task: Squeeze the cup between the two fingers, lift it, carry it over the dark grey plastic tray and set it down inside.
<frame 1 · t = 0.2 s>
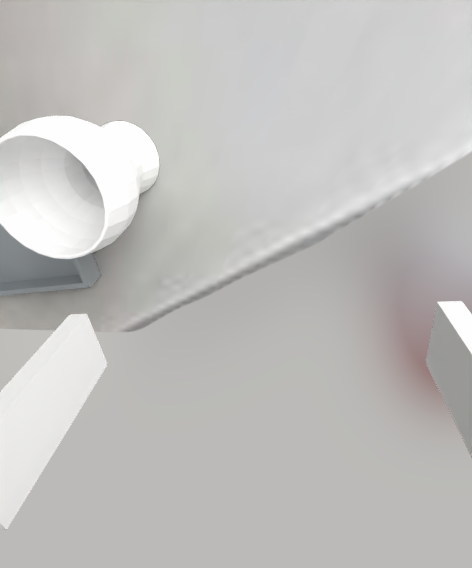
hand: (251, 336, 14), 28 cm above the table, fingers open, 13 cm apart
tray: (24, 228, 44), on the table
cup: (126, 159, 39), on the table
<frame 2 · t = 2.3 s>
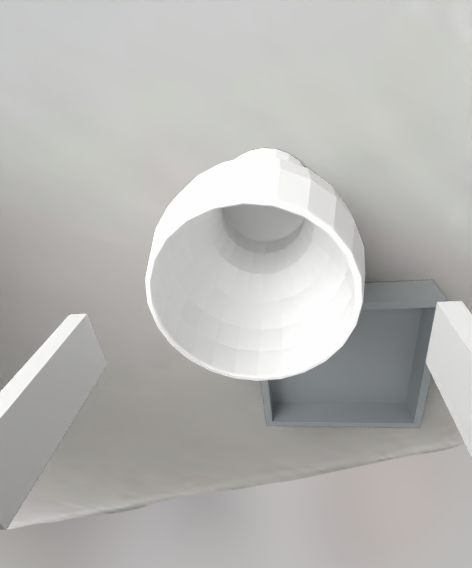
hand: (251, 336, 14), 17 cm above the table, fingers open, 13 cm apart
tray: (338, 350, 35), on the table
cup: (265, 198, 28), on the table
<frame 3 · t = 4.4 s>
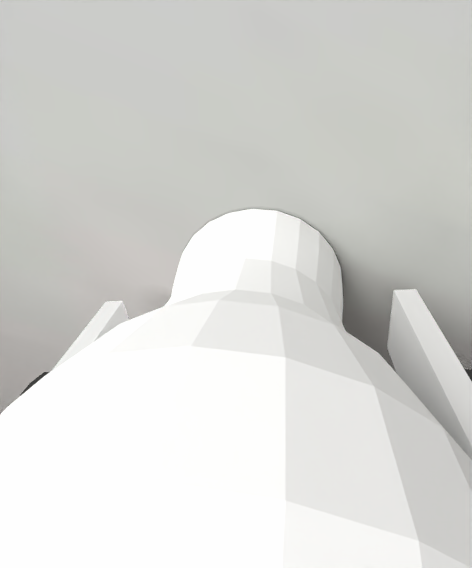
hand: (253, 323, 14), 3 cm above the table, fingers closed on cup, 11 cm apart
cup: (258, 284, 17), on the table, touching gripper
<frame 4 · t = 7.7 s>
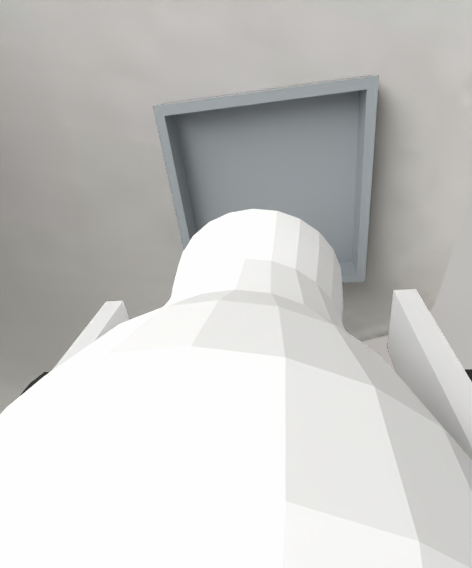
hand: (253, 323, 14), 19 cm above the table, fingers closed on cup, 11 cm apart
tray: (270, 190, 30), on the table
cup: (258, 284, 17), point 16 cm above the table, touching gripper
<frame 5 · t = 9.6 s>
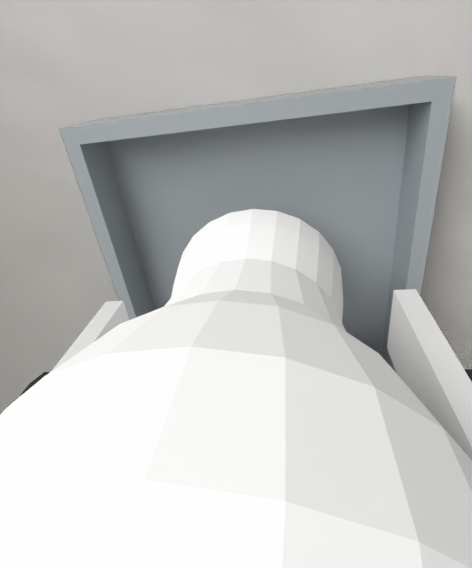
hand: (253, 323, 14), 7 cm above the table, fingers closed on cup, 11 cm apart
tray: (261, 251, 20), on the table
cup: (258, 284, 17), point 4 cm above the table, touching gripper
when the fingers open (5 cm above the table, at t = 11.1 s): cup drops 1 cm, resting on tray.
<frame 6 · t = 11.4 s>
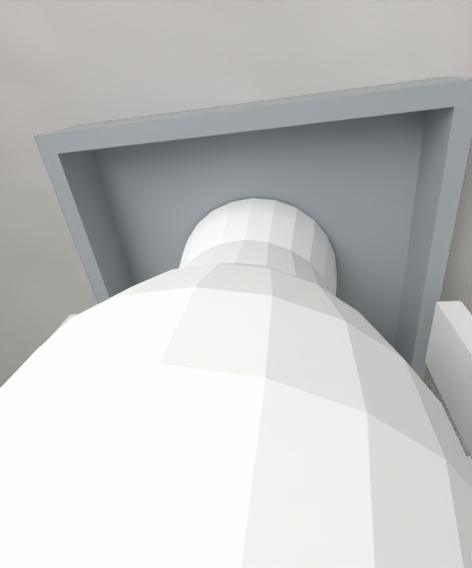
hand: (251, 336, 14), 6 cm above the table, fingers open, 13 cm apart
tray: (260, 267, 18), on the table
cup: (257, 270, 18), resting on tray
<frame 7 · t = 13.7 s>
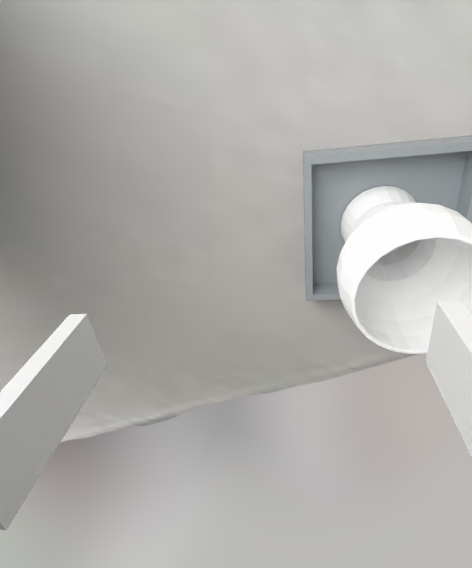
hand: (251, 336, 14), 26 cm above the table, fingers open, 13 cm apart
tray: (379, 221, 37), on the table
cup: (378, 222, 37), resting on tray
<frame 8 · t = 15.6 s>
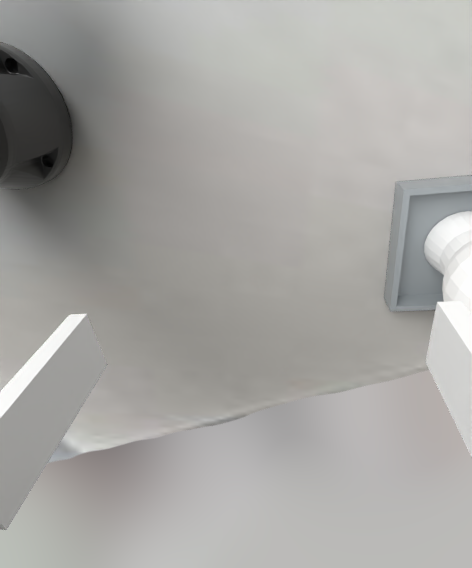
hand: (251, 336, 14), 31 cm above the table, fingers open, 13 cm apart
tray: (458, 240, 42), on the table
cup: (458, 242, 41), resting on tray
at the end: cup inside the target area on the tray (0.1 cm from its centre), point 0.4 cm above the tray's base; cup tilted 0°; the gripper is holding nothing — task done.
